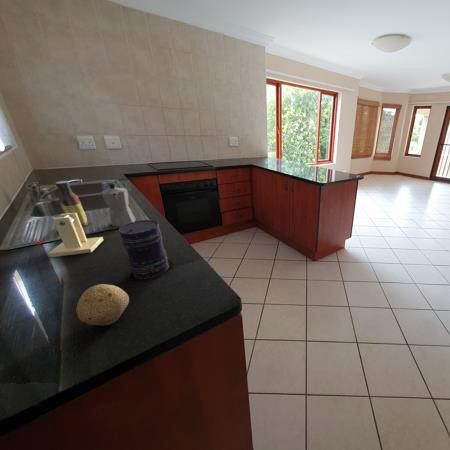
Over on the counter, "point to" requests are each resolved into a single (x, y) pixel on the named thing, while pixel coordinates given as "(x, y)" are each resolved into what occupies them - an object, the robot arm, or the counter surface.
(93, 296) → the potato
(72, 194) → the sauce bottle
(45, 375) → the counter surface
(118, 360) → the counter surface
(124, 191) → the coffeepot
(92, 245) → the bracket
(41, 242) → the lever
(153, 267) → the storage jar
